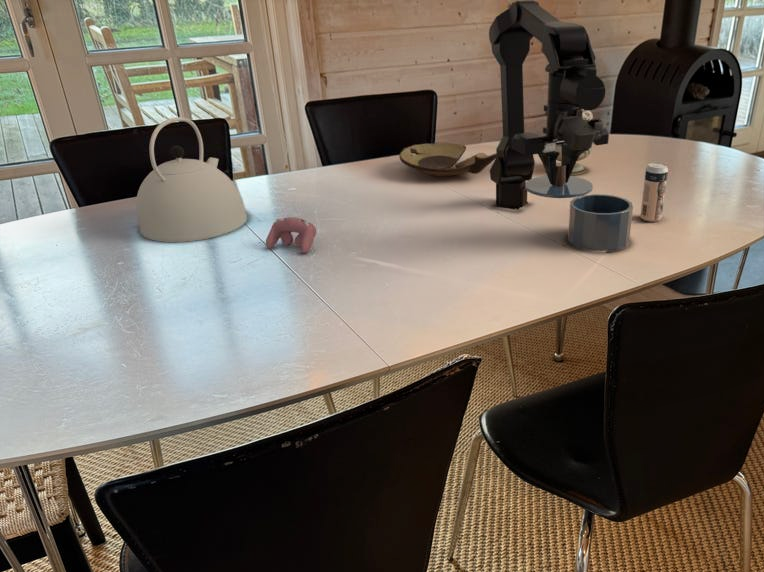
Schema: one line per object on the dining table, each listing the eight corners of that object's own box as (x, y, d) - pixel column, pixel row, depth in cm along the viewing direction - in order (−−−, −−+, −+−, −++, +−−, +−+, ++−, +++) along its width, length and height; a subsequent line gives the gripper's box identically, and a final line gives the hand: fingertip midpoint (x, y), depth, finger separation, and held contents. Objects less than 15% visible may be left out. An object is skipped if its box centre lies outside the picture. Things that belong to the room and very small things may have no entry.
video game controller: (317, 255, 137) (320, 221, 136) (304, 253, 133) (308, 218, 132) (276, 249, 140) (279, 216, 139) (262, 247, 136) (266, 213, 135)
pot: (558, 246, 136) (560, 208, 132) (580, 227, 145) (583, 191, 141) (617, 257, 131) (621, 218, 127) (635, 236, 140) (640, 199, 136)
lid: (513, 195, 131) (513, 168, 128) (541, 177, 141) (542, 152, 138) (577, 205, 125) (579, 177, 122) (602, 186, 135) (604, 160, 132)
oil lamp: (454, 156, 196) (453, 129, 192) (511, 180, 175) (512, 151, 171) (385, 168, 186) (383, 140, 182) (437, 196, 165) (436, 164, 161)
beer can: (661, 223, 147) (669, 169, 140) (639, 222, 148) (646, 167, 141) (661, 216, 151) (668, 162, 144) (639, 214, 152) (646, 161, 145)
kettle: (184, 201, 163) (160, 104, 151) (269, 206, 159) (251, 107, 147) (117, 238, 142) (83, 129, 131) (213, 245, 138) (187, 133, 127)
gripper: (541, 113, 114) (538, 202, 123) (630, 103, 121) (621, 187, 129) (511, 102, 123) (510, 186, 131) (595, 93, 130) (589, 173, 138)
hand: (558, 183), depth 132 cm, fingers closed on lid, 3 cm apart
